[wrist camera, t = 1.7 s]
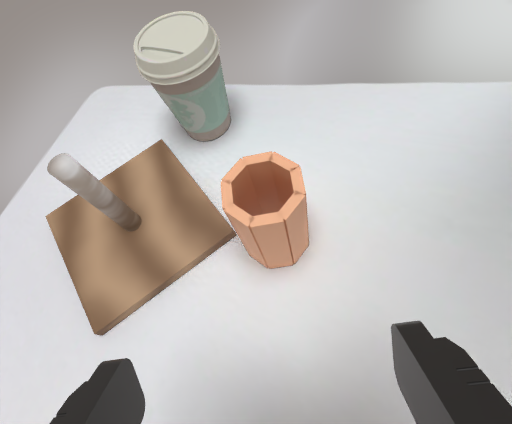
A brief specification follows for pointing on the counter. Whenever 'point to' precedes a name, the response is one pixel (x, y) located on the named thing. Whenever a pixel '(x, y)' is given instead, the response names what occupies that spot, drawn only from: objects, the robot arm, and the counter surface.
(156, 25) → the coffee cup
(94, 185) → the post
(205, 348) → the counter surface
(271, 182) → the collar
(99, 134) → the counter surface
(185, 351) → the counter surface
